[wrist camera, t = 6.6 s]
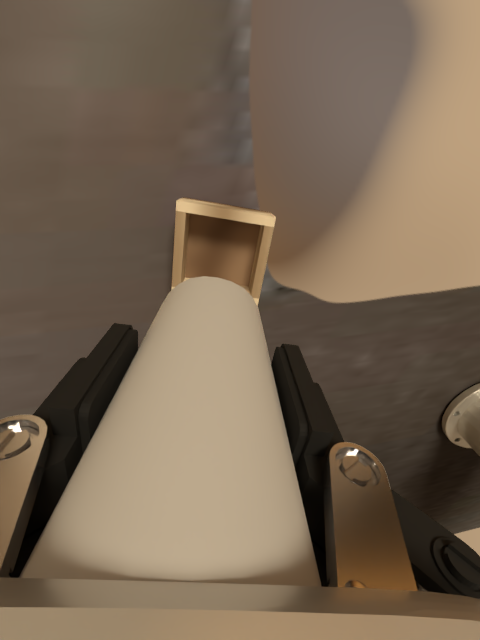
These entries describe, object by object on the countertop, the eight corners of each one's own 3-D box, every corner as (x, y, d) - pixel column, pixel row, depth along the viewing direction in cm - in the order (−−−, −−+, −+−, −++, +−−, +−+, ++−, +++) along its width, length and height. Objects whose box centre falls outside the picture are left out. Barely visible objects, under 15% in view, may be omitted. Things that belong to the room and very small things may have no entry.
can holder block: (269, 212, 27) (276, 217, 23) (254, 291, 31) (257, 306, 27) (183, 197, 26) (176, 200, 23) (178, 280, 30) (171, 294, 26)
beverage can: (217, 372, 16) (193, 797, 5) (142, 322, 14) (-133, 786, 3) (278, 313, 14) (438, 741, 3) (203, 249, 13) (57, 673, 2)
